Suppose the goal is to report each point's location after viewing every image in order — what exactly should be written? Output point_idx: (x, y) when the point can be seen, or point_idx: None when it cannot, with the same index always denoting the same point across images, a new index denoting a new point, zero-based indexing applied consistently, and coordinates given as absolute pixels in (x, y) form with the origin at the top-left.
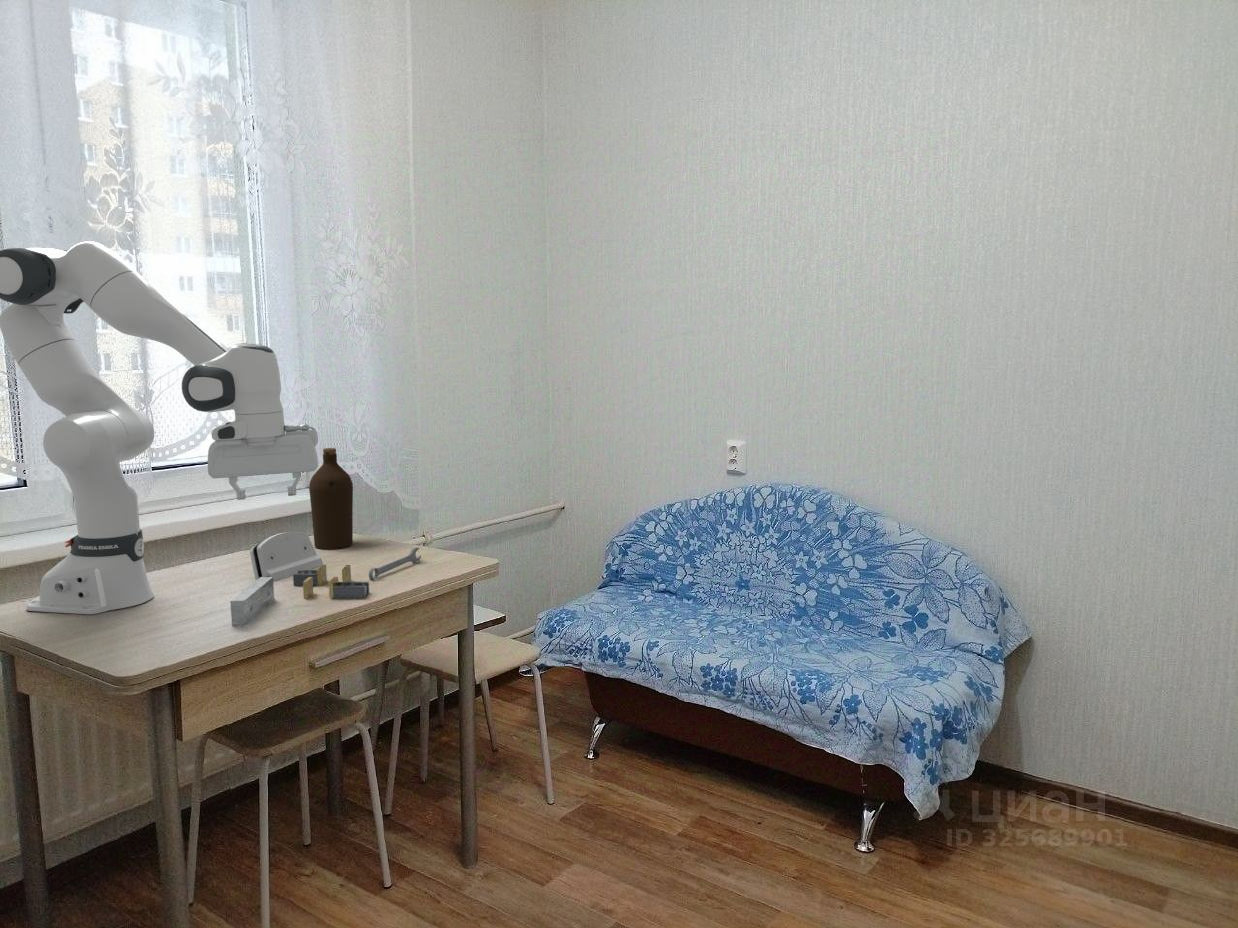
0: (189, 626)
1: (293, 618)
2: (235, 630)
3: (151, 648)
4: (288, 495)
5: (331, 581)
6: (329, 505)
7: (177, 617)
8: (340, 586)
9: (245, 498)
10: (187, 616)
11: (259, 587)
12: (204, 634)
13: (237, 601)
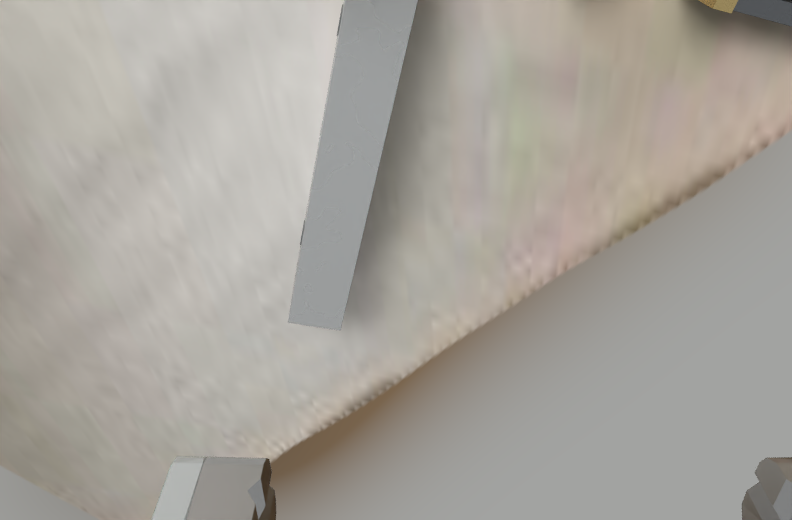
0: (146, 243)
1: (503, 235)
2: None
3: (114, 403)
4: (744, 513)
5: (727, 1)
6: None
7: (47, 123)
8: (756, 3)
9: (270, 475)
10: (84, 119)
11: (376, 156)
12: (229, 327)
13: (315, 324)
